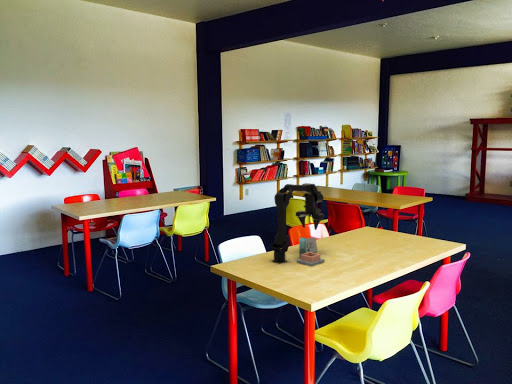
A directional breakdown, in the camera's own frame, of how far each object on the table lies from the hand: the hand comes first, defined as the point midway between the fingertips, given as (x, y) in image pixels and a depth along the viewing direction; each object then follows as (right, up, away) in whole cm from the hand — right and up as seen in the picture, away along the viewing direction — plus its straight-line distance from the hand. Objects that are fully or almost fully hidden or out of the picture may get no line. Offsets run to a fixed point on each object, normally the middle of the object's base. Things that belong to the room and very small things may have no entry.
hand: (309, 228), depth 273 cm
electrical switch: (0, -15, +2) cm, 15 cm away
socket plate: (-2, -18, -19) cm, 26 cm away
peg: (-5, -16, -10) cm, 20 cm away
